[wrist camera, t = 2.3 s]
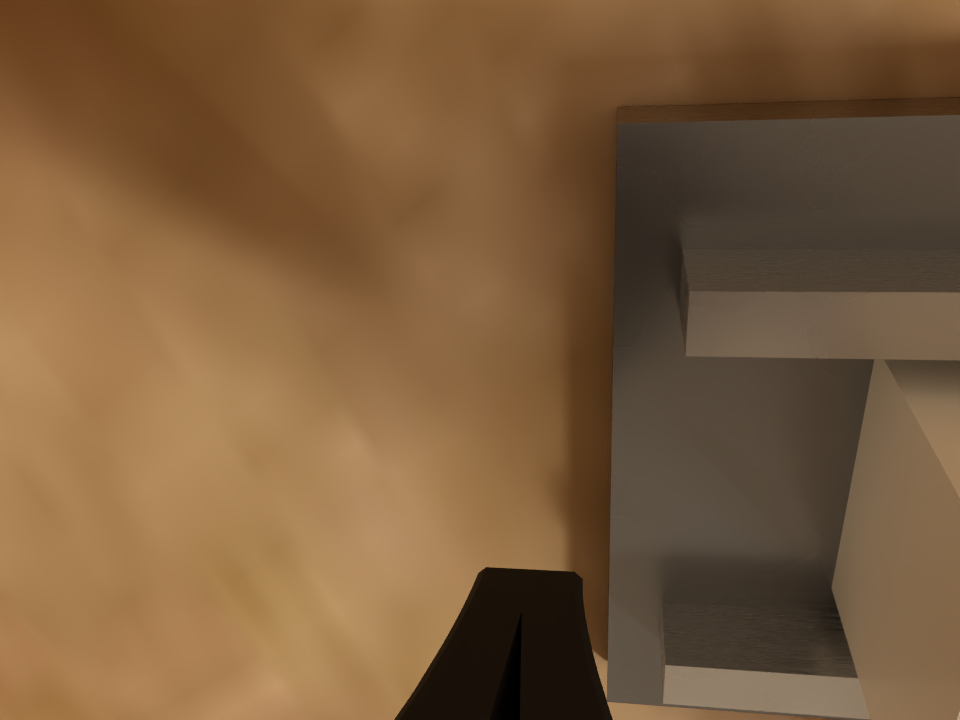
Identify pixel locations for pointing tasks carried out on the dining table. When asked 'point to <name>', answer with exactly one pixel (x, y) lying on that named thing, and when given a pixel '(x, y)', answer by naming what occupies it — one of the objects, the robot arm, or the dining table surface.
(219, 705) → the dining table surface
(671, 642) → the dock
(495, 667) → the robot arm
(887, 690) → the beige cardboard box
